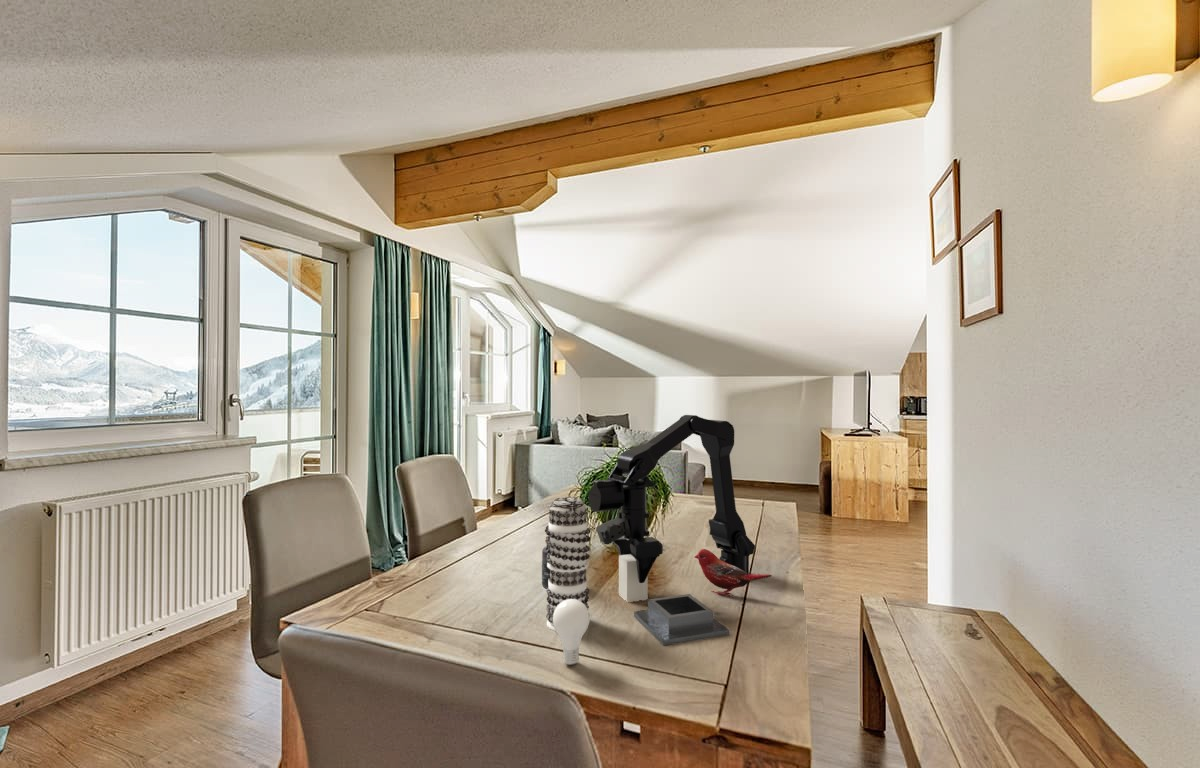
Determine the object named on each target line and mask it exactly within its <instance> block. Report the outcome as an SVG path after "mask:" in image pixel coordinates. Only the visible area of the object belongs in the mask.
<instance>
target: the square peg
mask: <svg viewBox="0 0 1200 768" xmlns="http://www.w3.org/2000/svg"><path fill="white" fill-rule="evenodd" d="M648 578H649V574H648V575H647V578H646V580H645V582H644V583H639V579H638V572H637V564H636V559H635V558H634V557H633V556H632V555H631V554H628V555H620V554H618V595H619V596H620V597H621V598H622V599H623V600H624V601H625V600H626V601H627V602H626V601H625V602H626V603H632V602H631V601H635V602H640V601H639V600H642V601H647V600H646V599H648V600H649V598H648V596H649V595H648V594H649V593H648V592H649V591H648V589H649V587H648V586H649V585H648V584H649V583H648V581H649V579H648Z"/></svg>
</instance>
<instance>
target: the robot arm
mask: <svg viewBox="0 0 1200 768" xmlns="http://www.w3.org/2000/svg"><path fill="white" fill-rule="evenodd" d="M692 435H696V436H700V440H701V444H702V447H703V448H704V451H705V452H706V453H707V455H708V457H709V462H710V463H709V464H710V471H711V480H712V487H713V488H712V489H713V496H714V504H715V512H714V513H715V514H714V516H713V518H709V519H708V525H709V535H710V536H711V537H712V540H713V542H714V543H715V546H716V548H717V549H720V556H719V560H721V561H723V562H725V563H728V564H730V565H733V566H735V567H737V568H739V569H741V570H743V571H745V572H746V573H748V574H749V575H752V574H751V573H750V572H749V571H750V568H749V567H750V565H749V564H750V555H754V552H755V548H756V545H755V544H754V543H753V541H752V540H751V539H750V538H749V537H748V536H747V531H746V528H745V527H746V526H745V524H744V522H743V520H742V518H741V517H740V515H739V514H738V511H737V507H736V506H737V505H736V498H735V491H734V490H735V489H734V479H733V474H732V464H731V456H730V455H731V453H732V451H733V448H734V445H735V428H734V424H732V423H731V422H729V421H727V420H718V419H716V420H715V419H706V418H703V417H701V416H699V415H694V414H684V415H682V416H681V417H680V418H679V419H678V420H677V421H675V422H674V423H671V425H669V426H668V427H666V429H664V430H663V431H661V432H660V433H658V434H657V435H656V436H654V437H653V438H652V439H650V440H649V441H647V442H645V443H643V444H640V445H636V446H634V447H631V448H629V449H627V450H625V451H622V452H621V453H620V454H619V455H618V457H617V462H616V464H615V466H614V467H613V469H612V470H611V472H610V474H609V476H608V477H607V479H605V480H604V479H603V480H601V479H594V480H593V481H592V486H591V487H590V489H589V493H588V494H587V495H588V496H587V498H588V499H587V500H588V505H589V507H590V509H591V511H592V512H593V513H597V512H598V513H600V512H607V511H615V510H617V512H616V518H612V519H610V520H608V521H605V522H604V523H600V524H599V525H597V526H596V527H595V529H596V532H597V535H598V539H599V541H600V542H602V543H603V544H604V545H610V544H612V543H613V544H615V545H616V547H617V550H618V555H628V554H631V555H632V556H633V557H634V558H635V559H636V564H637V572H638V579H639V583H644V582H645V580H646V578H647V575H648V576H649V573H650V571H651V569H652V567H653V566H654V564H655V562H656V560H657V558H659V557H660V556H661V555H662V554H663V553H664V552H663V550H664V547H663V546H664V545H663V544H662V542H661V541H660V540H658V539H657V538H655V537H653V536H650V531H649V530H648V529H647V518H648V519H649V518H650V513H649V511H647V488H652V487H655V483H654V482H653V481H652V480H650V478H649V474H650V473H652V472H653V470H654V469H655V468H656V466H657V464H658V462H659V460H661V459H662V457H663V456H665V455H666V454H667V453H669V452H670V451H672V450H673V449H674V448H676V447H678V445H680V444H681V443H683V442H684V441H686V440H687V439H688V438H689V437H691V436H692Z"/></svg>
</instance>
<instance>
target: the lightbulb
mask: <svg viewBox="0 0 1200 768" xmlns="http://www.w3.org/2000/svg"><path fill="white" fill-rule="evenodd" d="M590 617H591V616H590V612H589V608H588V609H587V607H586V606H585V605H584V604H583V603H582V602H581V601H579V600H577V599H566V600H564V601H562V602H561V603H559V604H558V606H557V607H556V608H555V610H554V613H553V625H554V628H555V630H556V631H555V632H556V633H557V635H559V638H560V641H561V646H562V647H563V649H562V650H563V652H562V654H563V657H562V658H563V660H562V661H563V663H564V664H566V665H568V666H574V665H576V664H577V663H579V661H580V660H579V659H580V646H581V643H582V638H583V636H584V634H585V633H586V631H587V630H588V628H589V626H590V621H591V620H590V619H591V618H590Z"/></svg>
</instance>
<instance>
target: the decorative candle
mask: <svg viewBox="0 0 1200 768" xmlns="http://www.w3.org/2000/svg"><path fill="white" fill-rule="evenodd" d="M588 508H589V506H588V505H586V504H585V502H584V501H583V500H582V499H581V498H579V497H574V496H561V497H558V498H555V499H553V501H551V504H550V505H548V506H547V509H548V510H549V513H548V514H549V521H548V525H546V527H545V529H544V532H545V534H546V537H545V544H546V543H547V544H546V546H545V547H546V550H547V553H548V554H547V557H546V560H547V561H548V563H547V567H548V568H549V581H548V588H546V593H547V597H546V602H547V603H548V604H547V605H546V607H545V609H546V612H547V613H546V615H545V616H546V618H547V619H546V626H547V628H548V627H549V628H548V629H549V630H552V631H553V632H556V630H555V628H554V625H553V613H554V610H555V608H556V607H557V606H558V604H559V603H561V602H562V601H564V600H566V599H577V600H579V601H581V602H582V603H583V604H584V605H585V606H586V607H587V609H588V610H589V608H590V606H589V603H588V602H589V599H590V598H589V596H588V594H589V591H590V589H589V587H588V578H587V568H589V561H587V560H588V559H590V557H591V555H590V554H589V553H588V552H589V551H590V548H591V547H590V546H589V545H588V544H587V543H588V542H590V540H591V537H590V536H589V534H590V533H591V531H592V530H591V528H589V527H588V519H587V509H588Z"/></svg>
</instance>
